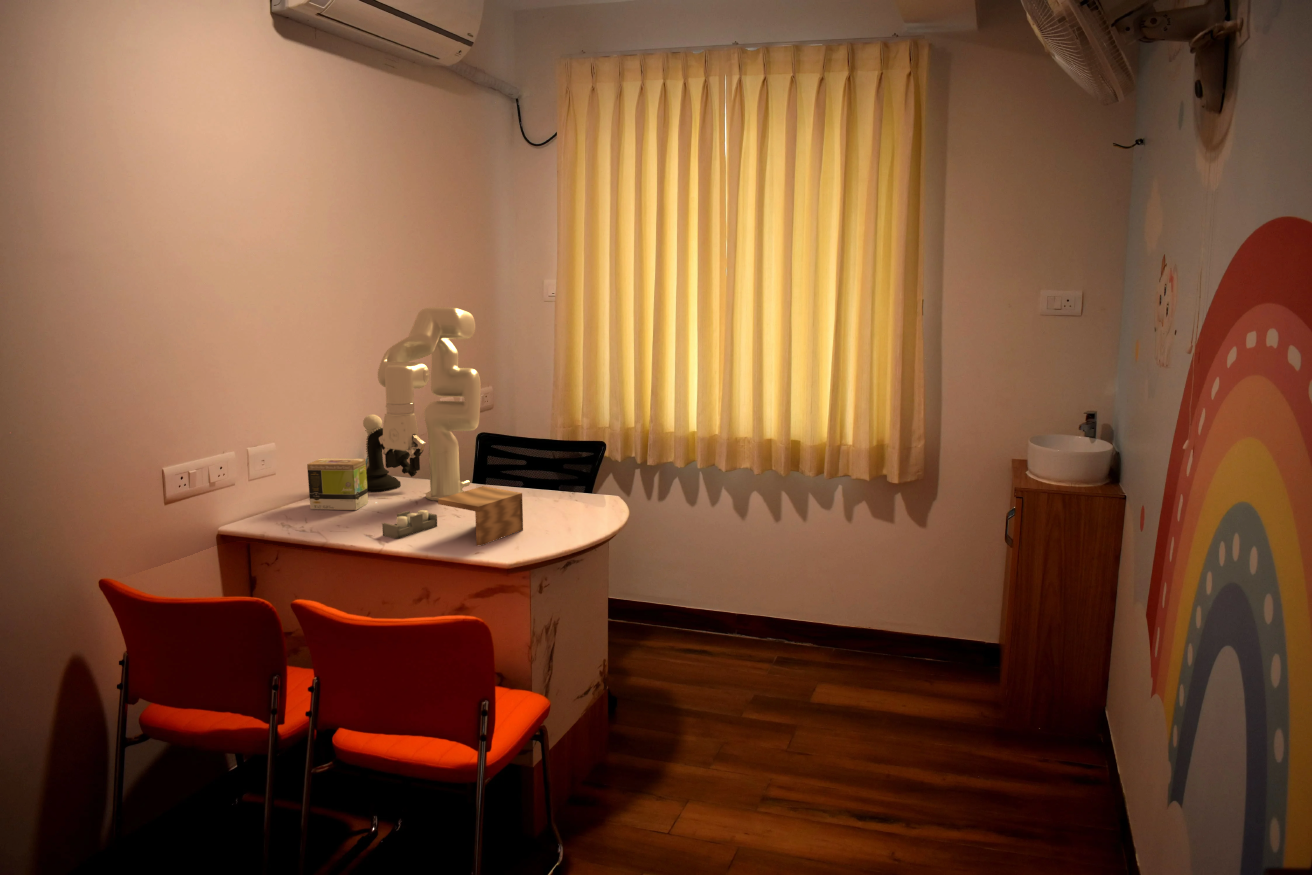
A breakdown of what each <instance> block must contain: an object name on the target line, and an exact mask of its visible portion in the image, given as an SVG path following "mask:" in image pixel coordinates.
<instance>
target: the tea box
mask: <svg viewBox="0 0 1312 875" xmlns="http://www.w3.org/2000/svg"><path fill="white" fill-rule="evenodd" d="M366 465H367V462H366V458H341V457H340V458H336V457H332V458H331V457H329V458H326V457H325V458H324V457H323V458H319V459H316V460H314V461H312V462H310V463H307V465H306V466H307V467H306V469H307V481H308V482H307V483H308V494H309V495H308V496H309V506H310V510H327V511H329V510H333V511H334V510H336V511H337V510H339V511H340V510H341V511H357V510H359V509H362V507H365V506H366V505H367V504H368V503H369V492H368V490H367V475H366Z"/></svg>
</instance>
